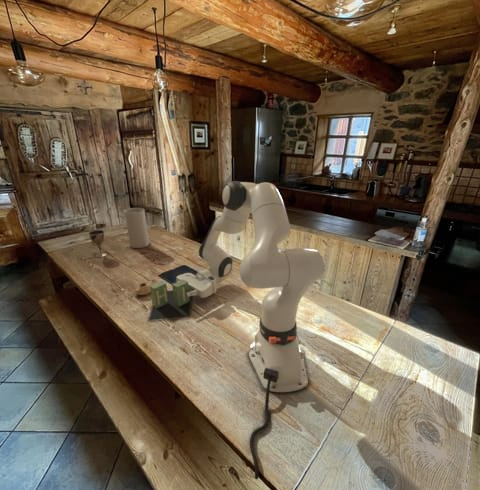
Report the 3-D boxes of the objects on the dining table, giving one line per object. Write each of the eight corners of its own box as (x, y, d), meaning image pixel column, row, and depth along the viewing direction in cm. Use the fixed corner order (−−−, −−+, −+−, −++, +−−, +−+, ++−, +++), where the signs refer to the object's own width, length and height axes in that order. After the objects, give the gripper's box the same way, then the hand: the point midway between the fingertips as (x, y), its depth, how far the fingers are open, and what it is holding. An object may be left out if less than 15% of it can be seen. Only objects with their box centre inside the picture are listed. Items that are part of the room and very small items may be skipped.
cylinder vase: (145, 248, 179) (140, 212, 169) (127, 248, 180) (120, 212, 169) (151, 242, 191) (146, 207, 181) (134, 242, 191) (128, 207, 181)
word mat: (188, 318, 111) (188, 316, 111) (149, 321, 109) (149, 319, 109) (191, 290, 131) (191, 289, 130) (157, 292, 129) (157, 291, 129)
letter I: (190, 301, 121) (188, 282, 117) (179, 306, 117) (177, 287, 113) (185, 298, 123) (183, 279, 119) (174, 303, 119) (172, 284, 115)
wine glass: (110, 254, 171) (106, 231, 165) (99, 258, 165) (93, 235, 159) (103, 251, 175) (98, 229, 169) (91, 255, 169) (86, 233, 163)
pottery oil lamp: (163, 287, 133) (161, 279, 127) (144, 304, 126) (141, 296, 121) (150, 277, 135) (148, 269, 130) (131, 293, 129) (128, 286, 123)
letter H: (168, 303, 120) (166, 283, 116) (157, 308, 116) (154, 288, 112) (164, 299, 122) (161, 280, 118) (152, 305, 118) (149, 285, 114)
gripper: (190, 267, 132) (166, 277, 122) (218, 281, 119) (193, 293, 110) (191, 278, 134) (167, 288, 125) (218, 293, 121) (194, 306, 112)
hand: (180, 291), depth 117 cm, fingers open, 8 cm apart
